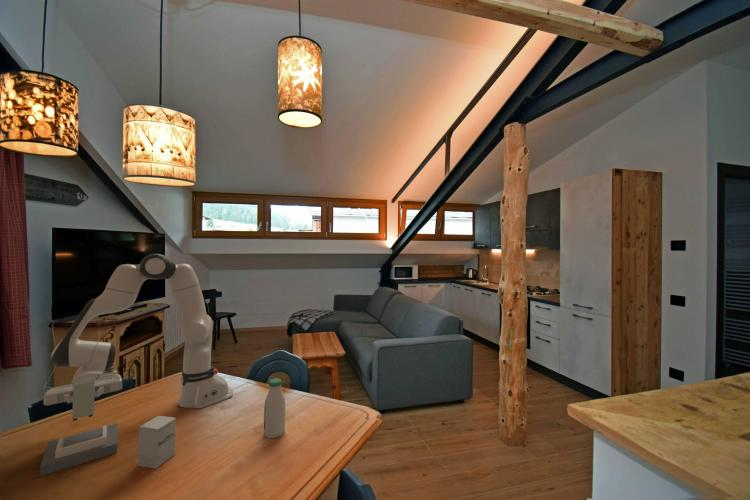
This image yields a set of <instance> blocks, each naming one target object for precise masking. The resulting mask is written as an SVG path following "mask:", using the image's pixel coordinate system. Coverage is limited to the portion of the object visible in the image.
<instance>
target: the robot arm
mask: <svg viewBox="0 0 750 500" xmlns="http://www.w3.org/2000/svg"><path fill="white" fill-rule="evenodd" d="M146 280H167V282H168V284H169V285H170V289H171V292H172V297H173V299H174V303H175V306H176V310H177V311H176V312H177V317H178V323H179V327H180V331H181V337H182V339H183V341H184V349H183V361H182V362H183V363H182V364H183V365H182V367H183V368H182V371H181V379H180V380H181V391H180V397H179V399H178V403H177V405H178V406H179V407H180V408H189V409H190V408H194V409H201V408H202V409H203V408H205V407H208V406H211V405H213V404H217V403H219V402H221V401H225V400H227V399H231V398H233V396H234V390H233V388H232V387H230V386H229V385H228V382H227V380H226V379H225V378H224V377H222V376H220V375H218V373H219V370H218V369H217V368H215V367H214V366H213V365H212V343H213V342H212V341H213V327H214V326H213V319H212V317H211V316H210V315H209V314H207V309H206V303H205V298H204V296H203V291H202V287H201V285H200V282H199V279H198V277H197V274H196V272H195V270H194V268H193V266H192V265H190V264H188V263H177V264H175V263H174V262H173V261H172V260H170V259H169V257H167V256H165V255H164V254H161V253H152V254H148V255H146V256H144V257H143V258H142V260H141V261H140V263H139V264H130V263H126V264H125V263H124V264H120V265H119V266H117V267H116V268H115V270H114V271H113V273H112V274H111V275H110V278H109V279H108V282H107V283H106V286H105V288H104V290H103V291H102V293H101V294H100V295H99V296H97V297H96V298H92V299H90V300H89V301H88V302H87V303H86V304H85V305H84V307H83V309H82V310H81V311H80V312H79V314H78V315H77V317H76V318H75V320H74V321H73V323H72V324H71V326H70V327H69V329H68V331H67V332H66V333H65V335H64V337H63V338H62V339H61V340H60V341H59V342H58V343H57V345H56V346H55V347H54V349H53V350H52V352H51V354H50V361H51V363H52V364H53V365H54V366H56V367H57V368H69V367H75V368H76V367H78V369H77V370H76V371H75V373H74V375H73V377H72V380H71V383H70V384H64V385H61V386H55V387H52V388H50V389H48V390H47V391H46V392H45V393H44V395H43V405H44V406H51V405H55V404H56V405H57V404H60V403H67V404H71V403H72V404H73V385H74V382H75V380H76V379H82V378H87V377H93V376H95V391H94V399H95V398H99V397H100V396H101V395H103V394H108V393H113V392H118V391H120V390H122V389H123V378H122V375H120V374H119V373H118V370H116V369H115V370H110V369H111V368H112V366H113V364H114V362H115V359H116V353H117V348H116V346H115V345H114V343H112V342H108V341H107V342H106V341H96V340H95V341H94V340H93V341H92V340H82V339H79V337H80V336H81V334H82V333H83V331H84V329H85V328H86V326H87V324H89V322H90V321H91V320H92V319H93V318H95V317H98V316H101V315H107V314H115V313H118V312H123V311H125V310H127V309H129V308H131V307H132V306H133V305H134V303H135V302H136V300H137V297H138V295H139V293H140V290H141V287H142V286H143V283H144V282H145V281H146ZM211 365H212V366H211Z"/></svg>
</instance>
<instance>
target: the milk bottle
mask: <svg viewBox="0 0 750 500" xmlns="http://www.w3.org/2000/svg"><path fill="white" fill-rule="evenodd" d="M282 384H283V383H282V379H281V378H277V377H276V378H272V379H270V380H269V381H268V388H269V389H268V393H267V395H266V397H265V400H264V406H263V408H264V409H263V411H264V412H263V435H264V437H265V438H269V439H276V438H279V437H281V436H283V435H284V433H285V431H286V399H285V394H284V393H283V391H282ZM278 436H279V437H278ZM275 437H276V438H275Z"/></svg>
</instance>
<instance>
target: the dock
mask: <svg viewBox="0 0 750 500" xmlns="http://www.w3.org/2000/svg"><path fill="white" fill-rule="evenodd" d="M113 454H118V423H113V424H110V425H107V424H106V425H103V426H102V427H98V428H94V429H92V430H87V431H83V432H80V433H79V432H78V433H76V434H72V435H68V436H61V437H59V438H56V439H54V440H49V441H48V443H47V446H46V449H45V451H44V454H43V457H42V459H41V463H40V465H39V477H43V476H46V475H51V474H53V473H56V472H59V471H62V470H66V469H68V468H69V469H70V468H73V467H75V466H78V465H79V466H80V465H81V464H85V463H89V462H91V461H94V460H98V459H100V458H105V457H107V456H110V455H113Z"/></svg>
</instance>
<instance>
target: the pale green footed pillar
mask: <svg viewBox="0 0 750 500" xmlns="http://www.w3.org/2000/svg"><path fill="white" fill-rule="evenodd" d="M94 391H95V376H93V377H87V378H82V379H76V380H75V382H74V385H73V402H72V419H71V420H72V421H73V422H75V421H78V419H80V418H83V417H87V416H88V418H92V417H93V416H94V410H95V398H94Z"/></svg>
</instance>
